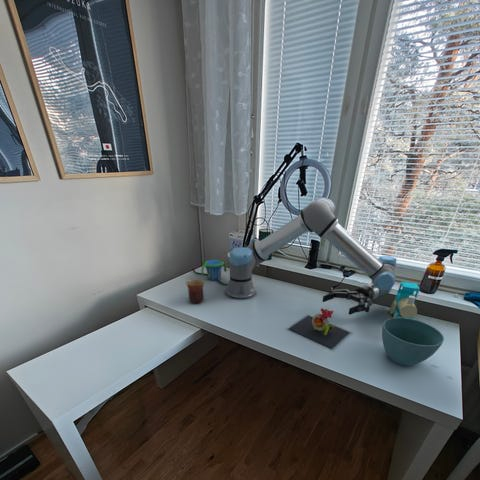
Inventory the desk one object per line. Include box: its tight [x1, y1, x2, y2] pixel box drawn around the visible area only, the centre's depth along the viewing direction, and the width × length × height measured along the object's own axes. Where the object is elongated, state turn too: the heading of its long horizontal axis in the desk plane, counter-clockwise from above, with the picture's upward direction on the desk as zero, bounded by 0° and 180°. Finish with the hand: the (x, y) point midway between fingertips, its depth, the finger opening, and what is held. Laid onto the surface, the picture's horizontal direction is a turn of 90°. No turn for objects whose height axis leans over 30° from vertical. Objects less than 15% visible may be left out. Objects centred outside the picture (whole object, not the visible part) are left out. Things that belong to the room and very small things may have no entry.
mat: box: [288, 315, 350, 350], centre depth 113 cm, size 20×16×1 cm
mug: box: [185, 278, 205, 305], centre depth 135 cm, size 12×9×10 cm
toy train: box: [390, 281, 420, 320], centre depth 119 cm, size 8×17×15 cm, turn 160°
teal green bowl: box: [381, 317, 445, 366], centre depth 95 cm, size 18×18×12 cm
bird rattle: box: [312, 307, 335, 335], centre depth 110 cm, size 6×11×9 cm
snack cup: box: [200, 259, 227, 281], centre depth 160 cm, size 16×10×10 cm
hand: (336, 305), depth 112 cm, fingers open, 13 cm apart
